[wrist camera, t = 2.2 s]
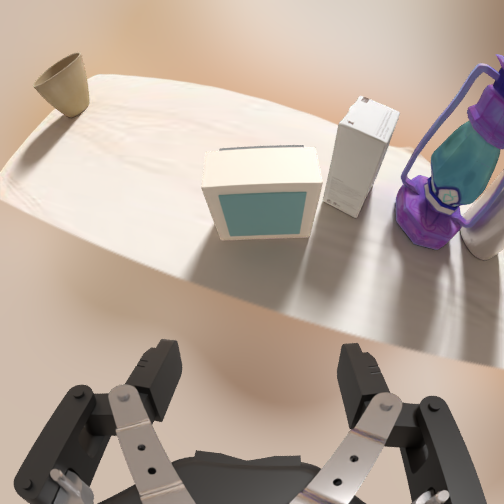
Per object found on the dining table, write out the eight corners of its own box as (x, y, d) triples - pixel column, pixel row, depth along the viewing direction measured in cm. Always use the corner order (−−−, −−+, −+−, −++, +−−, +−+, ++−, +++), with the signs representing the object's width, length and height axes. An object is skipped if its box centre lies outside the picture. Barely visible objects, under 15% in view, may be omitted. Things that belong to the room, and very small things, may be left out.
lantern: (460, 217, 37) (555, 88, 9) (444, 270, 33) (582, 134, 6) (399, 175, 41) (465, 19, 13) (375, 222, 37) (465, 31, 10)
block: (305, 206, 39) (315, 147, 28) (309, 238, 37) (322, 184, 26) (222, 209, 40) (205, 151, 29) (220, 241, 38) (201, 189, 27)
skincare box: (356, 220, 38) (389, 147, 24) (319, 201, 39) (336, 123, 26) (374, 182, 40) (403, 111, 27) (341, 165, 42) (359, 91, 28)
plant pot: (110, 93, 59) (90, 48, 44) (73, 129, 54) (45, 84, 39) (83, 92, 62) (64, 55, 48) (50, 125, 57) (25, 88, 43)
